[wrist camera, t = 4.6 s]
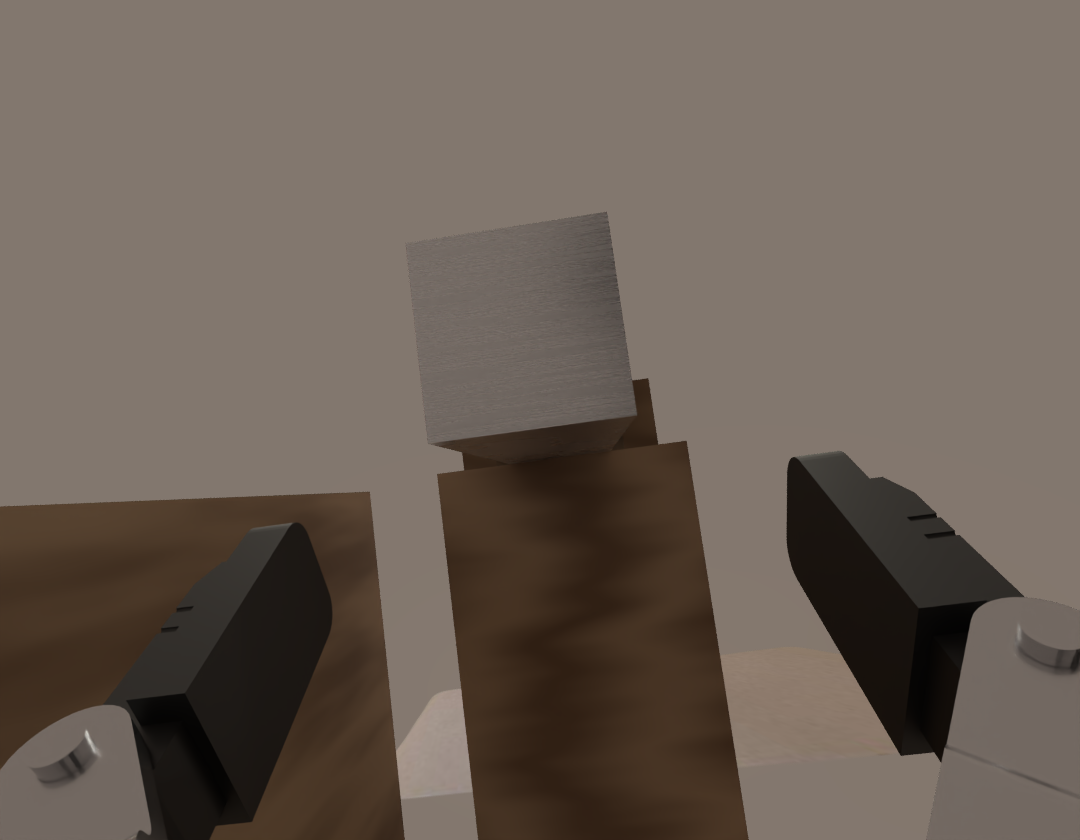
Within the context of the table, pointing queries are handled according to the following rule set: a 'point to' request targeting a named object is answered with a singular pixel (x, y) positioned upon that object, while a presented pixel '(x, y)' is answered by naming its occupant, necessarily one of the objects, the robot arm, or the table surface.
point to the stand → (481, 638)
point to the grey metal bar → (522, 340)
